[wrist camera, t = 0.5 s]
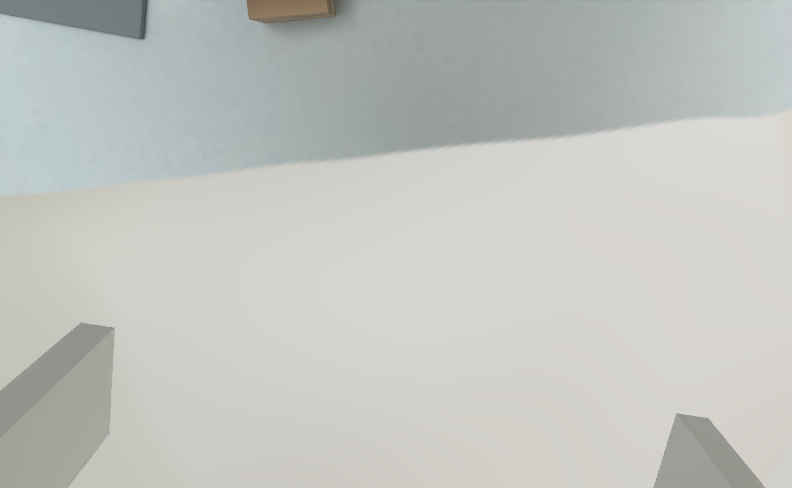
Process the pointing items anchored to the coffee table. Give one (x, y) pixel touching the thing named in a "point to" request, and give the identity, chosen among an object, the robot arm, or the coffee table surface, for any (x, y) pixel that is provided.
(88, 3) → the pad
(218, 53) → the coffee table surface
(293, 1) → the walnut block
